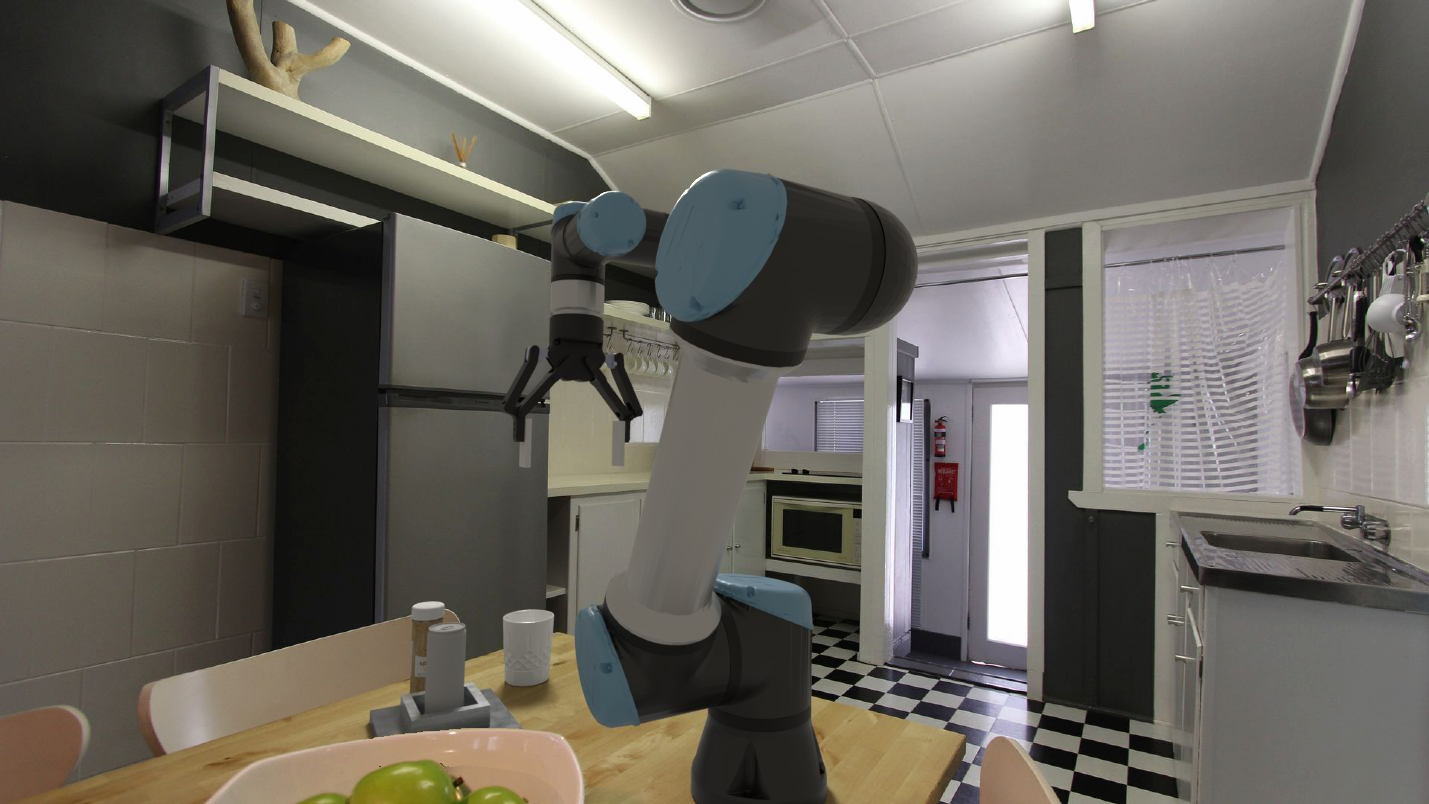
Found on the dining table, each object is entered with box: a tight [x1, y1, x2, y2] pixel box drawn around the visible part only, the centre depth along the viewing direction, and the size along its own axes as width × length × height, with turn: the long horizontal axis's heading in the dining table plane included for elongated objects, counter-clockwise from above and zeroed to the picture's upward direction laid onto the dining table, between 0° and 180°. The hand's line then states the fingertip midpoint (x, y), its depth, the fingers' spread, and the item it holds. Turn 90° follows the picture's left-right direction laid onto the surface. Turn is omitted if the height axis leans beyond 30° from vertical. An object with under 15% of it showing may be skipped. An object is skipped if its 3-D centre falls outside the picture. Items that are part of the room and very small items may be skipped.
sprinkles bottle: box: [408, 601, 446, 694], centre depth 100 cm, size 5×5×13 cm
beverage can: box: [424, 621, 467, 714], centre depth 88 cm, size 5×5×12 cm
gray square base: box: [369, 681, 524, 738], centre depth 88 cm, size 16×16×4 cm
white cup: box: [502, 609, 555, 687], centre depth 107 cm, size 8×8×10 cm
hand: (573, 466), depth 94 cm, fingers open, 13 cm apart
